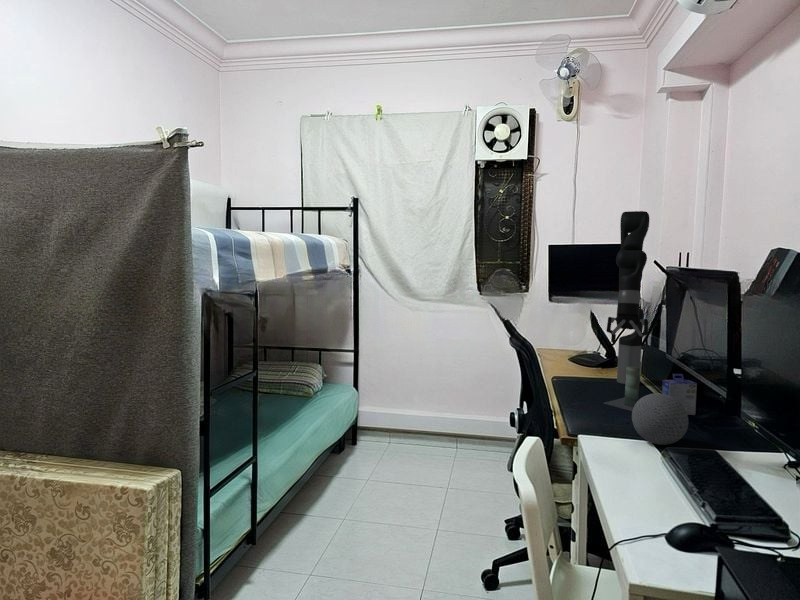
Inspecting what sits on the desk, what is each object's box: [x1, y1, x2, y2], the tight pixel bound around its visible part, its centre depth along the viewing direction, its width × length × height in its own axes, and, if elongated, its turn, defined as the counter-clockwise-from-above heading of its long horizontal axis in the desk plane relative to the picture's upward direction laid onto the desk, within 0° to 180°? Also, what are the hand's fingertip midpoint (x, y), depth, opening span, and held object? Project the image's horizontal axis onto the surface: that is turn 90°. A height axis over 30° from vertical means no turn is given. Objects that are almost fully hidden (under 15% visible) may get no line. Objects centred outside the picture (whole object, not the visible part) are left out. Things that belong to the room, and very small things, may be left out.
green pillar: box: [624, 366, 641, 407], centre depth 185 cm, size 5×5×14 cm
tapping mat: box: [603, 396, 634, 412], centre depth 185 cm, size 14×14×1 cm
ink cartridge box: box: [661, 373, 698, 416], centre depth 176 cm, size 10×6×14 cm, turn 89°
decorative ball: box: [631, 392, 689, 446], centre depth 149 cm, size 15×15×15 cm
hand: (626, 345), depth 189 cm, fingers open, 8 cm apart
